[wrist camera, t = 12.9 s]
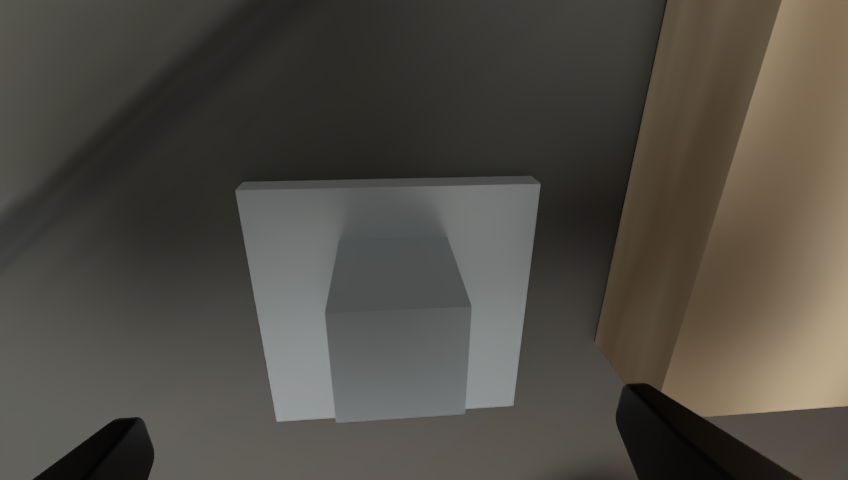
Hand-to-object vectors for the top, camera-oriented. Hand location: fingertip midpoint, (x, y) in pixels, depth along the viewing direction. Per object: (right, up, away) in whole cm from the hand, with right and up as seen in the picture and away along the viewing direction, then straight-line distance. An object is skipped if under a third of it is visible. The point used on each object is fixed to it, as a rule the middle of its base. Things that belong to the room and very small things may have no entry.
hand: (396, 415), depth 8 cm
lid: (0, +2, +6) cm, 6 cm away
